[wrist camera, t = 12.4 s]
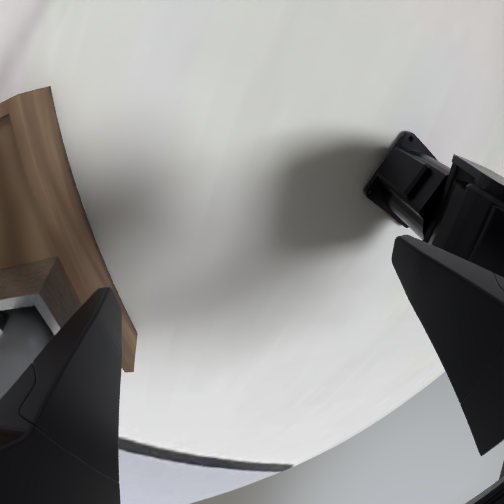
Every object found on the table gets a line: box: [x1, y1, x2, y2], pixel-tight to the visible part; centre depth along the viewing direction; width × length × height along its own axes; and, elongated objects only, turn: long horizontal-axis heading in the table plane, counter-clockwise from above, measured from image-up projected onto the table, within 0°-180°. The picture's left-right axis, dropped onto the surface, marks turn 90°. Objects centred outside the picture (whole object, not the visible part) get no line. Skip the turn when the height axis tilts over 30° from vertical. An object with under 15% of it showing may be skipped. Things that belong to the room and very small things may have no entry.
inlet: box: [0, 256, 83, 340], centre depth 21 cm, size 8×8×4 cm
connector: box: [0, 306, 52, 399], centre depth 18 cm, size 4×4×13 cm
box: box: [0, 86, 137, 372], centre depth 19 cm, size 15×23×4 cm, turn 5°
